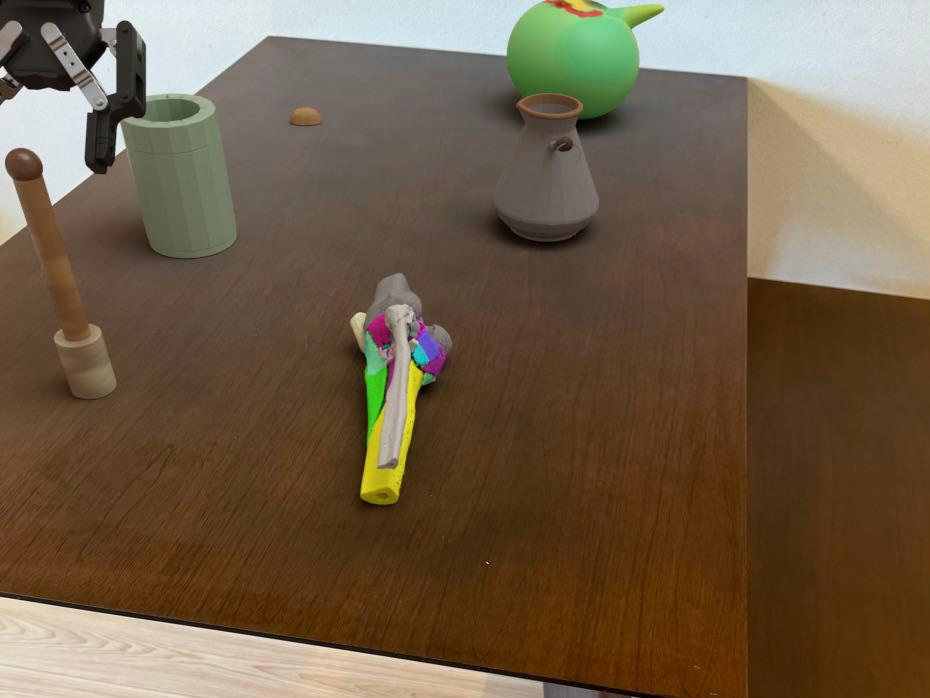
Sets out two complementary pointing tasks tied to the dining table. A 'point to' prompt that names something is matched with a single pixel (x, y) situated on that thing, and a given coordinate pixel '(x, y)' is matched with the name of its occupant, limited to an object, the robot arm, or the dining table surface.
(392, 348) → the knee model
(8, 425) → the dining table surface
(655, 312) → the dining table surface
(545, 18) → the toy bird
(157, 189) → the pale green cup
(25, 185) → the wooden pestle
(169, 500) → the dining table surface
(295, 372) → the dining table surface
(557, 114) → the coffee pot
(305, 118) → the potato
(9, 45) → the robot arm
